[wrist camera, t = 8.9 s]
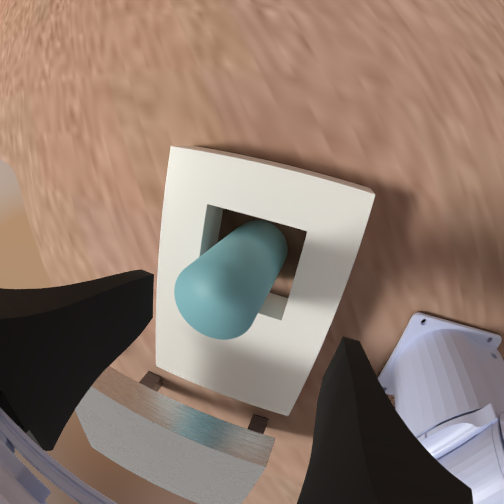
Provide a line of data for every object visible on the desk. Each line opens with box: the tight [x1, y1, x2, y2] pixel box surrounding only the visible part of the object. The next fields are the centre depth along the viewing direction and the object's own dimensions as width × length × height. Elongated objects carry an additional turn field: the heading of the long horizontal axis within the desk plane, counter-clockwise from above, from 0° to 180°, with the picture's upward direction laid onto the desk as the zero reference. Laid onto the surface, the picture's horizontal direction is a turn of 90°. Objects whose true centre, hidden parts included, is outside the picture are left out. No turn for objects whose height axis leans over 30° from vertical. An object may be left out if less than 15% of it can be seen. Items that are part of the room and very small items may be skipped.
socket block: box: [156, 146, 375, 416], centre depth 20 cm, size 12×18×3 cm, turn 168°
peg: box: [174, 220, 288, 340], centre depth 17 cm, size 4×4×8 cm
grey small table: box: [75, 366, 275, 504], centre depth 21 cm, size 14×12×11 cm
